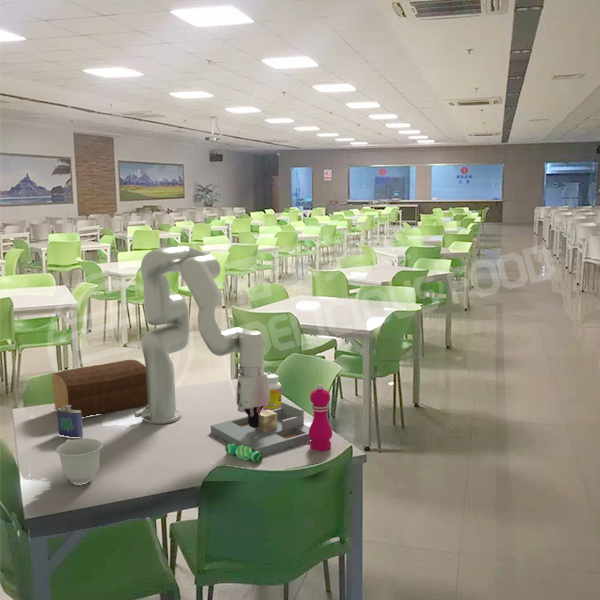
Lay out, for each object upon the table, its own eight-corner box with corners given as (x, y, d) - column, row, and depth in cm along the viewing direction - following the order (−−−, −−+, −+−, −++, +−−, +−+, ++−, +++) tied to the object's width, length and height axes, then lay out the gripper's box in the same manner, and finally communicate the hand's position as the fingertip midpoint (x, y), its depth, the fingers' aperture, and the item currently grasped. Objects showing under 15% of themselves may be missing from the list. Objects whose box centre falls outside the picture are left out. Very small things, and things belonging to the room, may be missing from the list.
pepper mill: (335, 444, 207) (335, 381, 204) (328, 453, 201) (328, 388, 197) (313, 441, 210) (312, 379, 206) (305, 450, 203) (304, 386, 200)
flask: (84, 437, 216) (82, 405, 214) (78, 440, 213) (76, 408, 211) (62, 433, 219) (59, 402, 218) (55, 436, 217) (53, 404, 215)
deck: (255, 457, 198) (254, 433, 197) (210, 432, 218) (210, 410, 217) (318, 438, 212) (318, 415, 211) (271, 416, 233) (270, 396, 231)
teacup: (89, 465, 194) (87, 432, 192) (112, 481, 183) (110, 446, 181) (47, 477, 186) (44, 443, 184) (69, 495, 175) (66, 459, 173)
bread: (53, 410, 243) (49, 367, 240) (131, 394, 261) (128, 354, 258) (69, 423, 229) (66, 378, 226) (151, 406, 246) (148, 363, 244)
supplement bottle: (281, 414, 235) (280, 378, 233) (262, 414, 236) (261, 378, 233) (282, 407, 242) (281, 373, 240) (263, 407, 242) (263, 373, 240)
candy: (223, 452, 200) (228, 439, 201) (230, 455, 202) (235, 443, 203) (252, 463, 192) (258, 449, 193) (259, 466, 195) (264, 452, 196)
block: (264, 431, 211) (264, 416, 211) (255, 427, 215) (255, 412, 214) (277, 428, 214) (277, 413, 214) (268, 424, 218) (268, 409, 217)
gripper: (237, 377, 201) (239, 435, 204) (278, 368, 210) (279, 424, 213) (225, 372, 207) (227, 428, 210) (265, 364, 216) (266, 418, 219)
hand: (253, 426), depth 212 cm, fingers closed
